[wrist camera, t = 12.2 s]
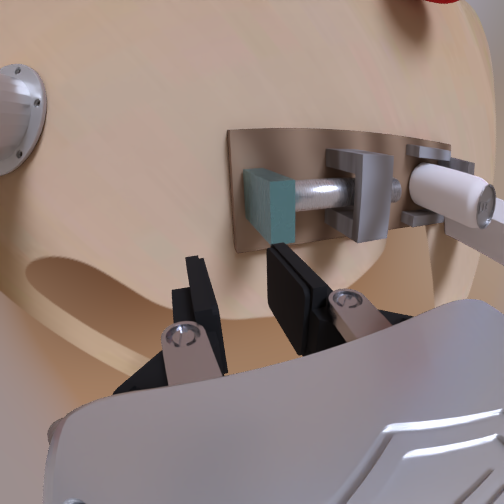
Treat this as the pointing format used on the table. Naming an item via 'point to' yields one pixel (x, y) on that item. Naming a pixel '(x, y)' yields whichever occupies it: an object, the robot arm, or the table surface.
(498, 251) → the milk carton
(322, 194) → the shaft
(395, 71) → the table surface
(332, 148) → the base plate with brackets
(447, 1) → the tomato
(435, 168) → the can
